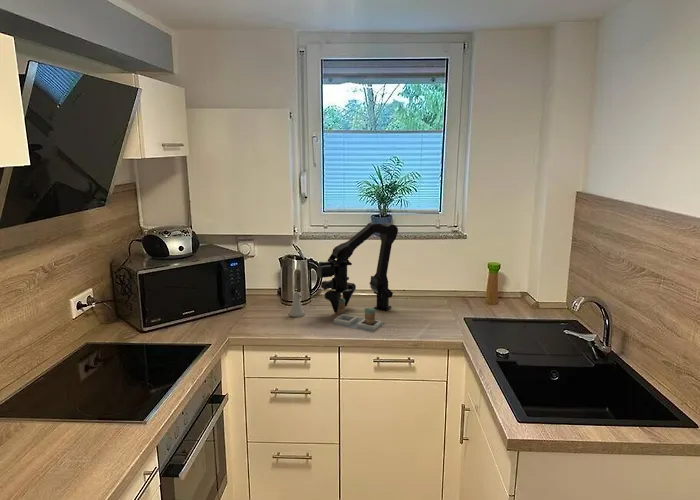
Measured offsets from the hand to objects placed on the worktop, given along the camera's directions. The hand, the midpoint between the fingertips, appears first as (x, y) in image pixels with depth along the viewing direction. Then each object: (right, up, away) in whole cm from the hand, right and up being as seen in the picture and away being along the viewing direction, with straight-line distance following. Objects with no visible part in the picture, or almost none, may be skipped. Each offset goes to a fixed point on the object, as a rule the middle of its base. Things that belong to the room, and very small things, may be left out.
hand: (340, 309), depth 224 cm
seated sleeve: (+12, -5, -16) cm, 21 cm away
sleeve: (0, -2, 0) cm, 3 cm away
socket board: (+7, -5, -13) cm, 16 cm away
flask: (-19, -3, 0) cm, 20 cm away
